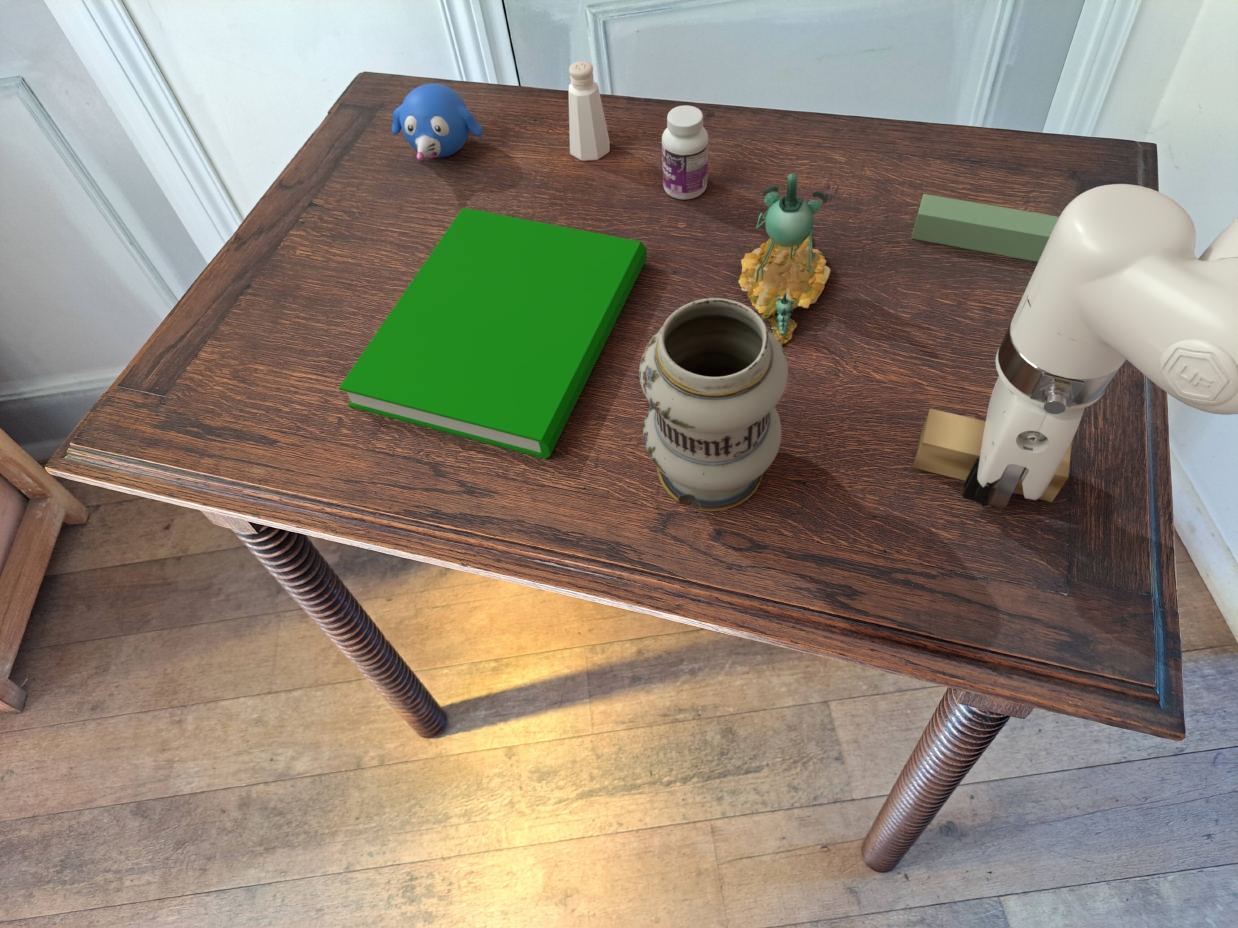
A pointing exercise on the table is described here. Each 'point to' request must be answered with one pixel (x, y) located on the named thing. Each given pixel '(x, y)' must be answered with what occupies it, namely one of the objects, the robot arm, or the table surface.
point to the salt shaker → (586, 115)
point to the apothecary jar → (713, 402)
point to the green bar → (983, 227)
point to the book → (498, 331)
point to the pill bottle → (685, 153)
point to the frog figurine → (785, 260)
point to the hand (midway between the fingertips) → (981, 495)
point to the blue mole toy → (434, 121)
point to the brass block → (966, 450)
